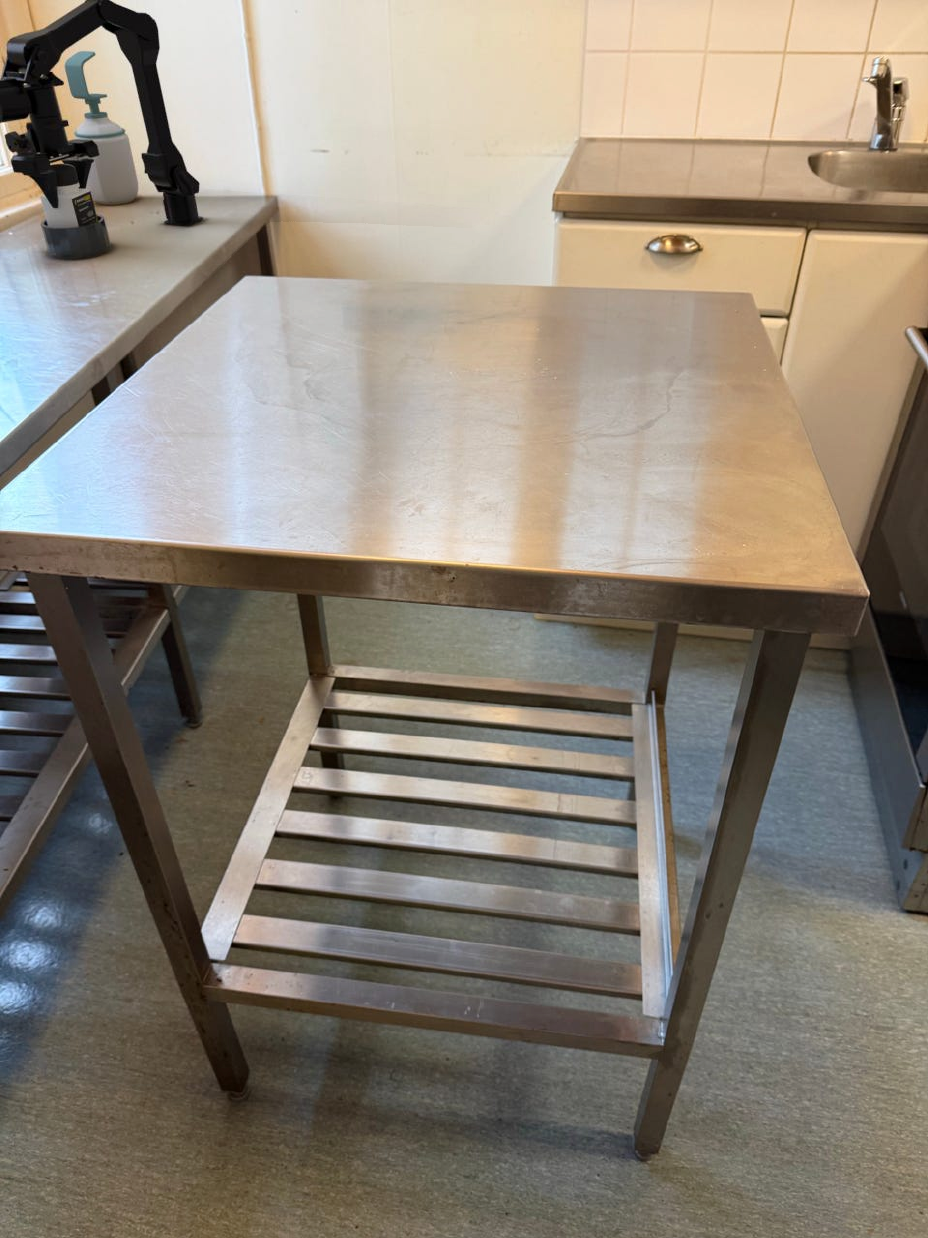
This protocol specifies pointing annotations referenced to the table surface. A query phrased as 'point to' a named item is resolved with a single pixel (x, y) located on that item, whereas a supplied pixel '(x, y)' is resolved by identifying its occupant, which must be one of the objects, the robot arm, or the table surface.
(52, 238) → the dark grey round bowl
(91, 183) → the soap bottle
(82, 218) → the medicine bottle
